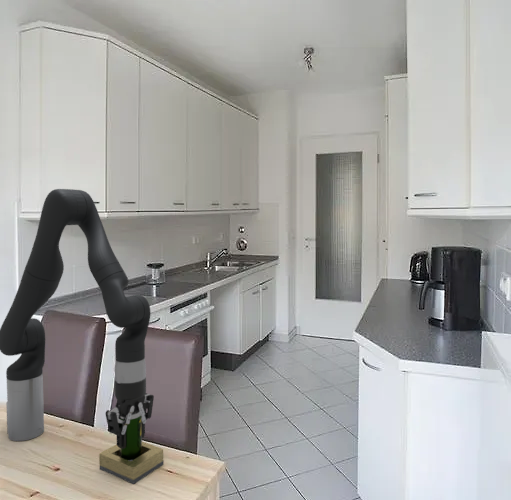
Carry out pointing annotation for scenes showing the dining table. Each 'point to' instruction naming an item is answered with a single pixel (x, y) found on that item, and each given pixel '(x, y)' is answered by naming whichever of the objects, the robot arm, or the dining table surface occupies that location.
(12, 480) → the dining table surface
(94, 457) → the dining table surface
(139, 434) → the beer can
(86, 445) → the dining table surface
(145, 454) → the socket block
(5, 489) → the dining table surface
